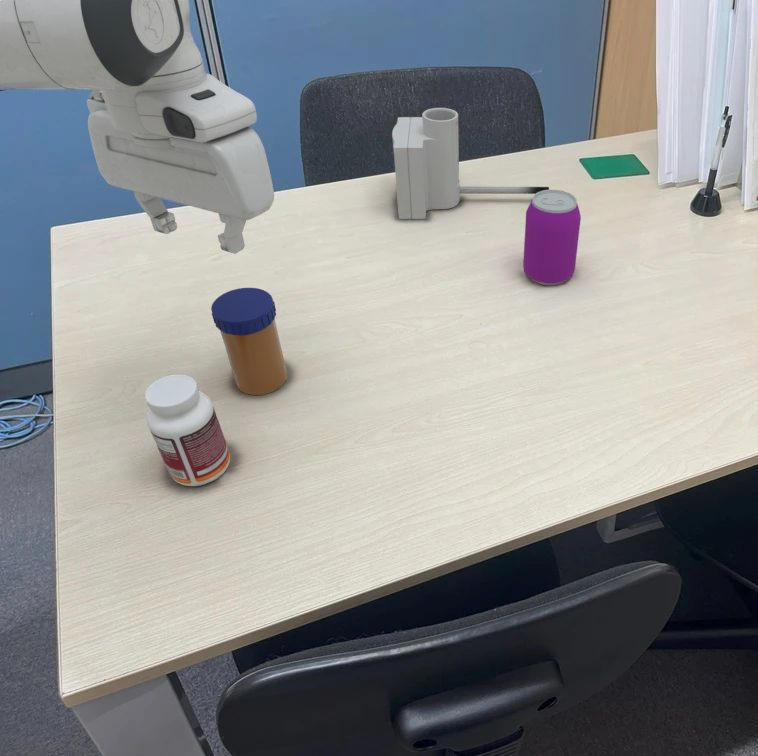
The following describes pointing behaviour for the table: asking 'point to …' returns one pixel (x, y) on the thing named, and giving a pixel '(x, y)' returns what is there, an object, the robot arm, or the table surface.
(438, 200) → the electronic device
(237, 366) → the jar
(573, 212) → the beverage can
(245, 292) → the lid
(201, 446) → the pill bottle
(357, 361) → the table surface
